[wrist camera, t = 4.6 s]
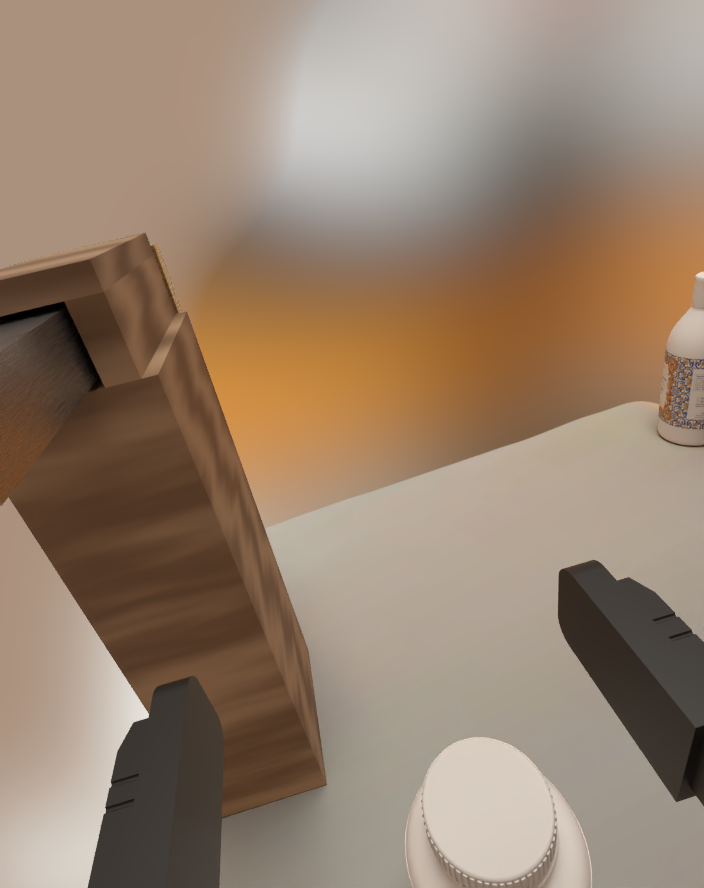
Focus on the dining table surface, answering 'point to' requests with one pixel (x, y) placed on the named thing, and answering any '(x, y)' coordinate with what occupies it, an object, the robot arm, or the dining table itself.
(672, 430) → the bath foam
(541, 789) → the pill bottle
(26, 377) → the shaft
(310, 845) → the dining table surface
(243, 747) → the tower
